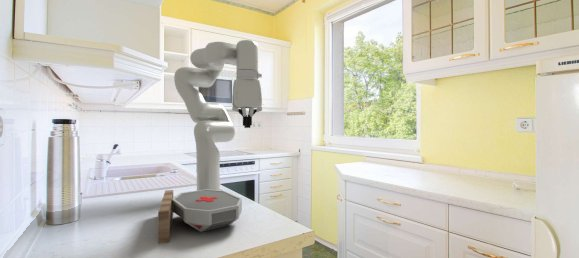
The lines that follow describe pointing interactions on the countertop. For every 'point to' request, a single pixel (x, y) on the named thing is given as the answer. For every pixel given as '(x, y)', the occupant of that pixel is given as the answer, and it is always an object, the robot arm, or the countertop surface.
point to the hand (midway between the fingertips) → (247, 127)
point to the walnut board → (165, 217)
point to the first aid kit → (207, 208)
